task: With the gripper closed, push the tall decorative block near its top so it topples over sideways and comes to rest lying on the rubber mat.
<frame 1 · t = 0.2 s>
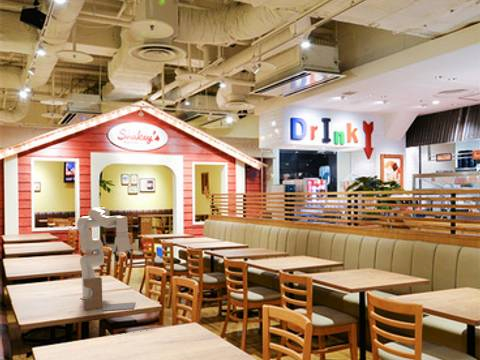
hand: (123, 260, 316), 31 cm above the table, tool pointing down, fingers open, 9 cm apart
mat: (119, 307, 313), on the table
decorative block: (93, 308, 313), on the table
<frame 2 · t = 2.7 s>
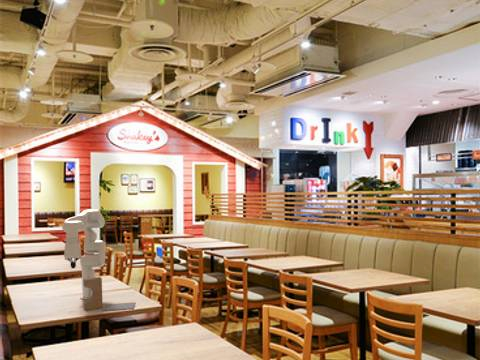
hand: (73, 268, 311), 28 cm above the table, tool pointing down, fingers closed
nothing on the table moved.
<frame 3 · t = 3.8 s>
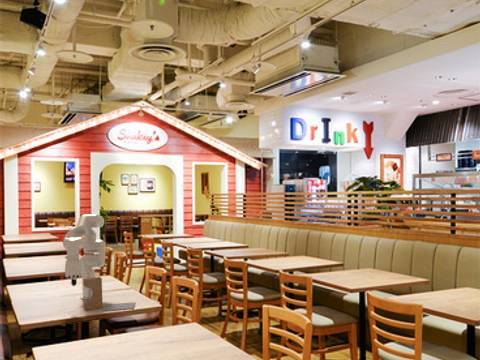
hand: (74, 285, 311), 16 cm above the table, tool pointing down, fingers closed
nothing on the table moved.
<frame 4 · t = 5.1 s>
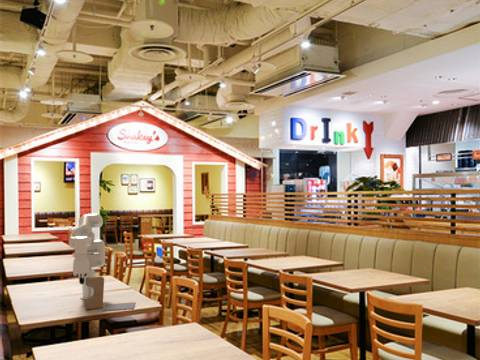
hand: (81, 283, 311), 17 cm above the table, tool pointing down, fingers closed
decorative block: (93, 307, 313), on the table, touching gripper
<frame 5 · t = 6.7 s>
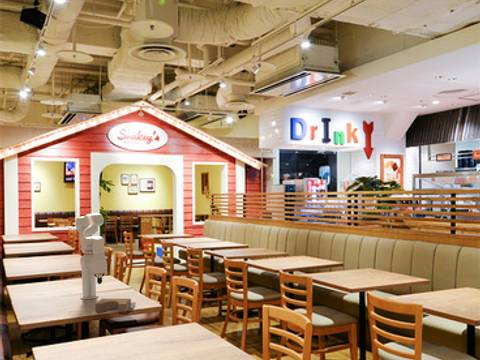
hand: (99, 283, 313), 16 cm above the table, tool pointing down, fingers closed
decorative block: (98, 305, 306), point 4 cm above the table, touching mat
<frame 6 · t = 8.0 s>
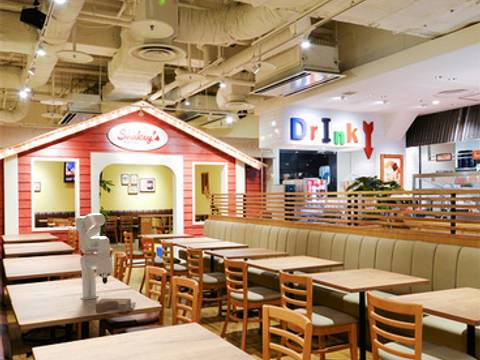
hand: (105, 283, 314), 16 cm above the table, tool pointing down, fingers closed
nothing on the table moved.
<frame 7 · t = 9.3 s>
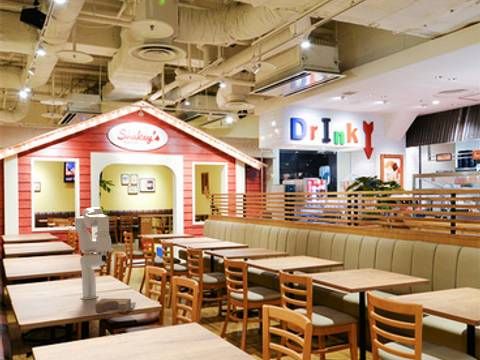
hand: (104, 261, 314), 31 cm above the table, tool pointing down, fingers closed
nothing on the table moved.
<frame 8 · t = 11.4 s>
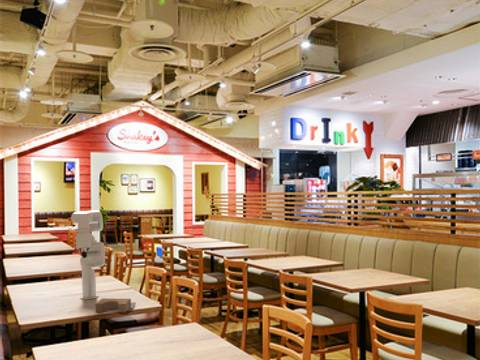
hand: (84, 257, 320), 33 cm above the table, tool pointing down, fingers closed
nothing on the table moved.
at the end: decorative block tilted 91°; decorative block touching mat, table; decorative block inside the target area (5.9 cm from its centre), point 3.6 cm above the table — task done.
